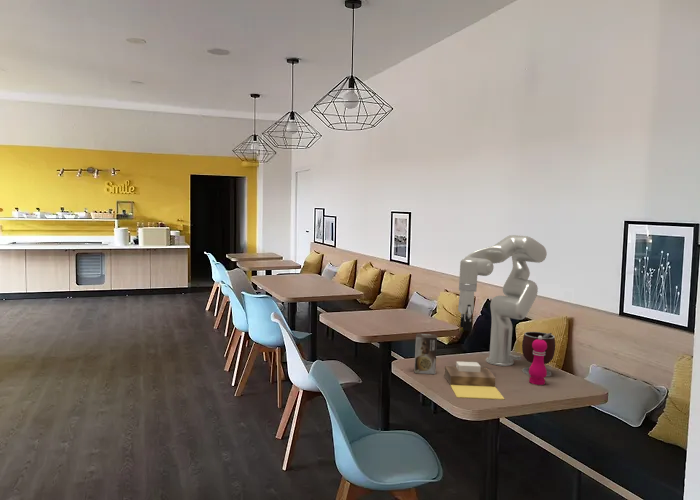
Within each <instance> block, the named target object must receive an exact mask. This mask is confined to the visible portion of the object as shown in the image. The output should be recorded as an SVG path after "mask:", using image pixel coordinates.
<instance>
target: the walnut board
mask: <svg viewBox="0 0 700 500" xmlns="http://www.w3.org/2000/svg"><path fill="white" fill-rule="evenodd" d="M444 377H445V379H446V380H447V382H448V384H449V386H450V385H468V386H491V387H496V376H494V374H493V373H492V372H491V371H490V370H489V368H487V367H481V370H480V372H462V371H458V369H457V368H456V365H455V366H452V365H445V366H444Z"/></svg>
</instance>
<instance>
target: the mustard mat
mask: <svg viewBox="0 0 700 500" xmlns="http://www.w3.org/2000/svg"><path fill="white" fill-rule="evenodd" d="M449 387H450V389H452V392H453V393H454V395H455V397H456V398H457V399H458V398H459V399H475V400H476V399H479V400H480V399H481V400H501V401H502V400H506V399H505V397H504V395H502V393H501V392H500V391H499V389H498V388H497V387H496V386H495V387H491V386H468V385H450V384H449Z"/></svg>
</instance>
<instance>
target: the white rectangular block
mask: <svg viewBox="0 0 700 500" xmlns="http://www.w3.org/2000/svg"><path fill="white" fill-rule="evenodd" d="M455 362H456V363H455V366H456V368H457V369H458V371H462V372H480V370H481V368H482V366H481V365H480V364H479V362H477V361H455Z"/></svg>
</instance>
